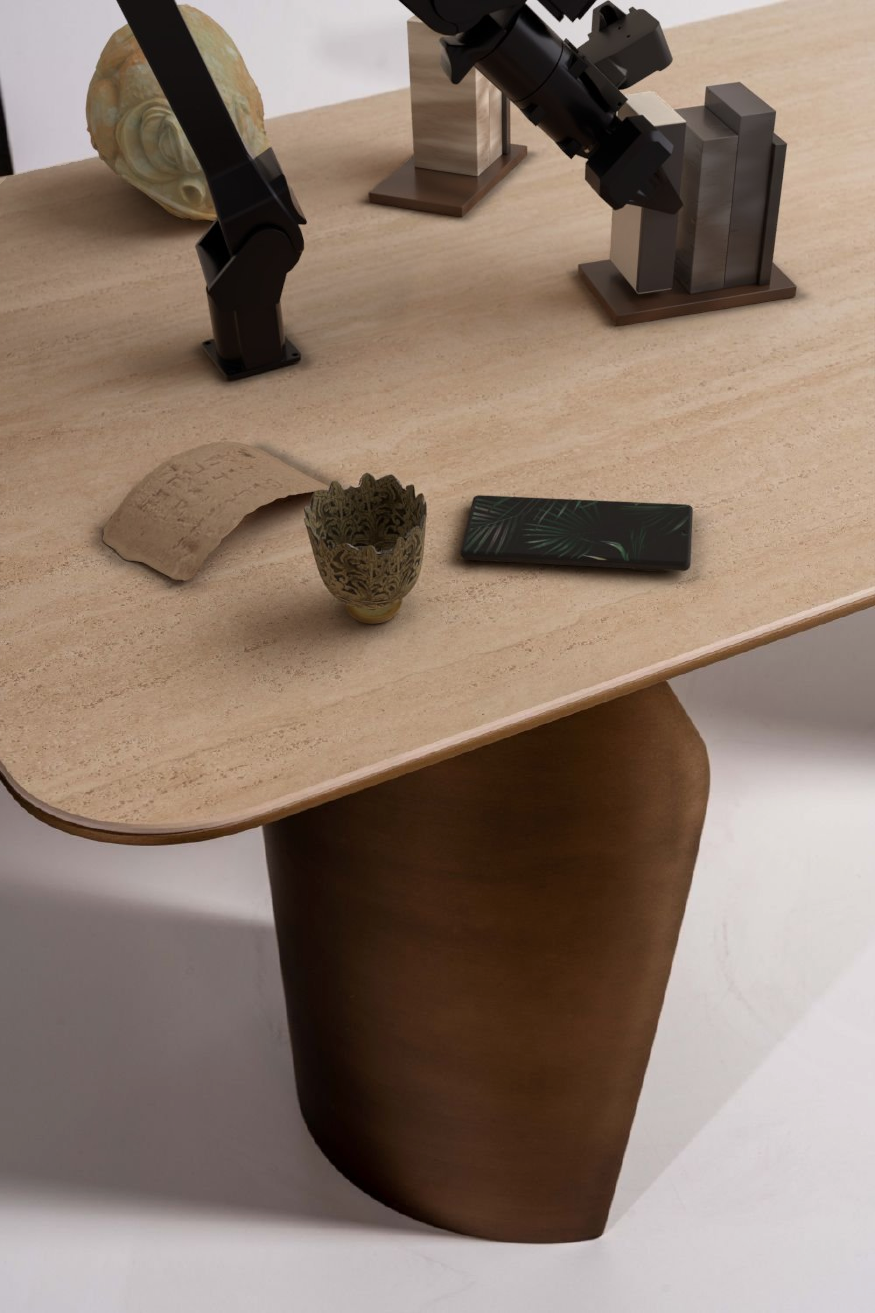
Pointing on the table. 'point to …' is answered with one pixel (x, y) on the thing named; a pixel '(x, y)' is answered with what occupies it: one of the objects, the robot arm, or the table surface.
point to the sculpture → (166, 116)
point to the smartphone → (579, 533)
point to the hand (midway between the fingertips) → (661, 191)
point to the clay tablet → (198, 504)
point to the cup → (368, 543)
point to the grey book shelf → (715, 216)
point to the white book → (642, 232)
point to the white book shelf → (442, 186)
